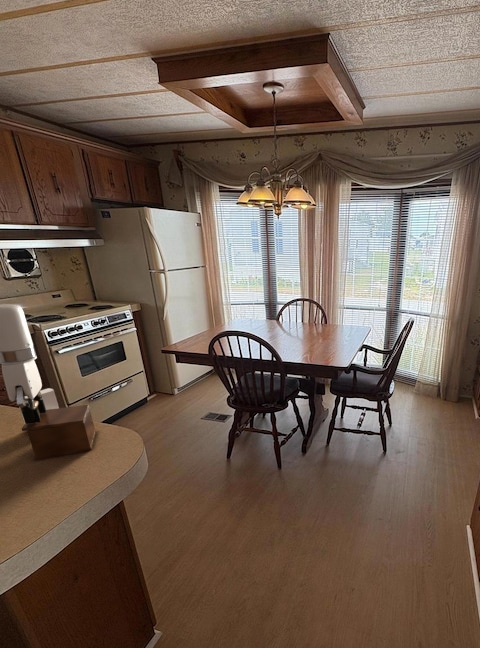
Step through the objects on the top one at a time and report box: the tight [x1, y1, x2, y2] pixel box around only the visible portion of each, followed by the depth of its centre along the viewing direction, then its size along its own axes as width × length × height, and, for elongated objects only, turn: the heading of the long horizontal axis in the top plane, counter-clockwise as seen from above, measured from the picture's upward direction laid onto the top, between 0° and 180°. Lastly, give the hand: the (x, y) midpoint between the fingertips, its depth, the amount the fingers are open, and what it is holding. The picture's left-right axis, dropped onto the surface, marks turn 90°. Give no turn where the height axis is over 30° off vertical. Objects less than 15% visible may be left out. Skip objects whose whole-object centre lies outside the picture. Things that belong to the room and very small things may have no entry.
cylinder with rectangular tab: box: [15, 387, 60, 424], centre depth 105 cm, size 9×9×12 cm
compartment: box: [26, 407, 97, 461], centre depth 98 cm, size 13×11×9 cm
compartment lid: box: [21, 400, 90, 432], centre depth 95 cm, size 13×11×5 cm
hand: (36, 417), depth 93 cm, fingers closed on compartment lid, 5 cm apart
